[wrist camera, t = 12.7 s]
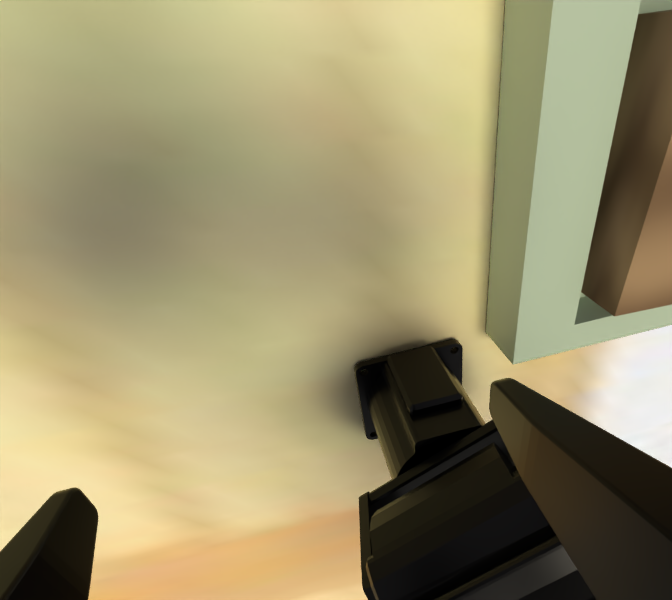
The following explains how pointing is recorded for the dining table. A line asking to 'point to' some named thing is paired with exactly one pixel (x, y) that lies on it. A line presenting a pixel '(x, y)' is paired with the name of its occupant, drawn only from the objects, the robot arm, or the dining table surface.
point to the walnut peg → (638, 183)
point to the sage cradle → (556, 172)
